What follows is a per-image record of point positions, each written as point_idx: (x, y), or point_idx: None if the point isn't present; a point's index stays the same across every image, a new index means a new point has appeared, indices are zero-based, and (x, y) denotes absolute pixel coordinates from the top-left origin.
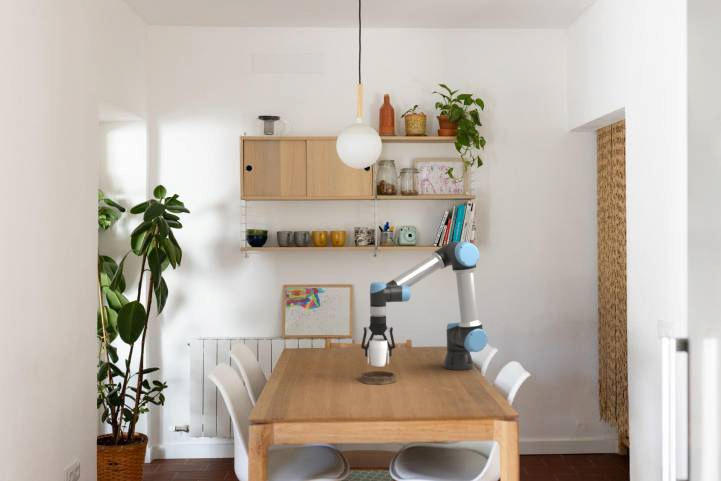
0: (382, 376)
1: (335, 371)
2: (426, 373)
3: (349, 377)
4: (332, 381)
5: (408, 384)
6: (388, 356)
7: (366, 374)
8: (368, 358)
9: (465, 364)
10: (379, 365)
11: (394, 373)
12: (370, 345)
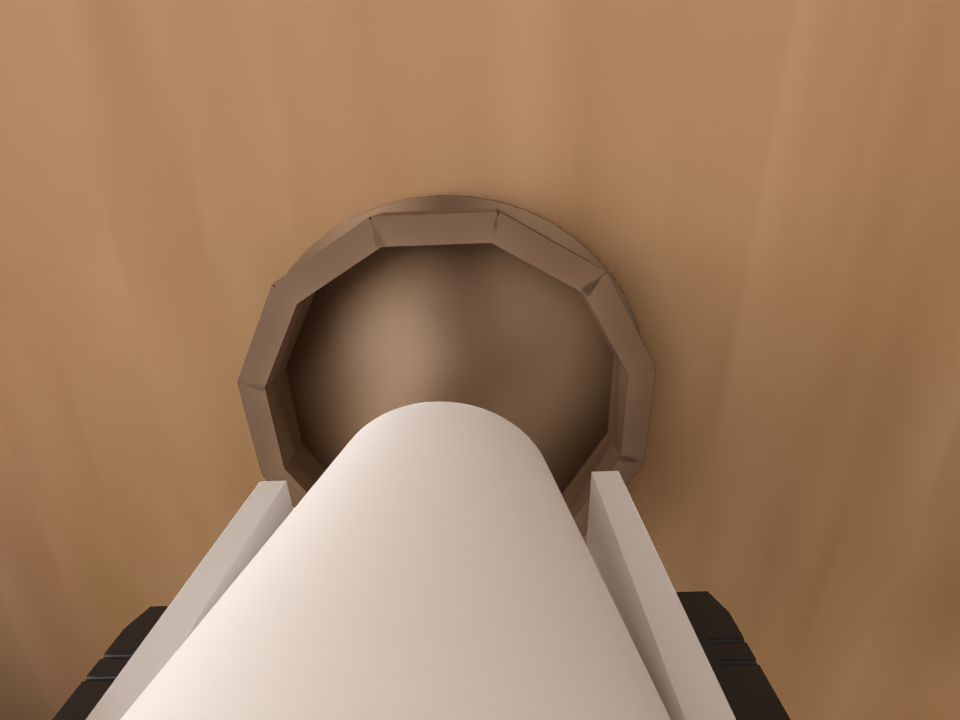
0: None
1: (797, 690)
2: (62, 634)
3: (724, 516)
4: (932, 362)
5: (98, 206)
6: (195, 589)
7: (579, 493)
8: (634, 544)
9: None
10: (417, 407)
11: (271, 475)
12: None
